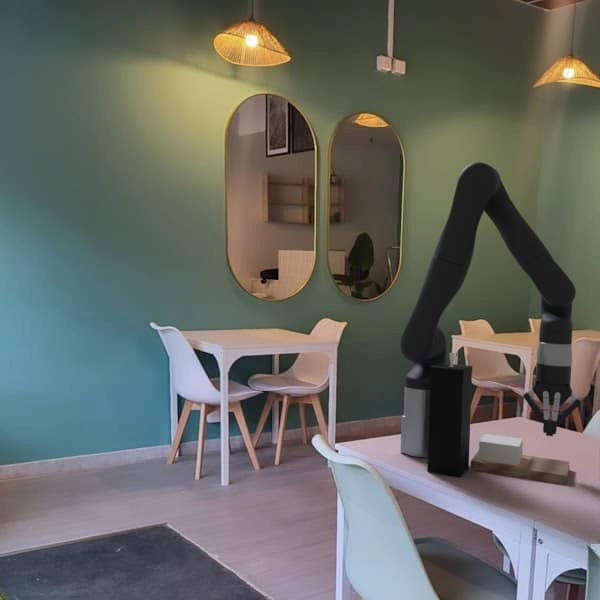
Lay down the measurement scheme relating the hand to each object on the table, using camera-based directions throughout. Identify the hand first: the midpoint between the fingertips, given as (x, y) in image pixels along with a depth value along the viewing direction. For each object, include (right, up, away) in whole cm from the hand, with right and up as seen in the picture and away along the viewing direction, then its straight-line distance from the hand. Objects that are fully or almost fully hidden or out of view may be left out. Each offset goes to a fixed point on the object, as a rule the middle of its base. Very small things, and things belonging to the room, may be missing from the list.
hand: (549, 435), depth 139 cm
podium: (-6, -9, +3) cm, 11 cm away
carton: (-10, -7, +5) cm, 13 cm away
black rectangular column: (-24, -9, +1) cm, 25 cm away
